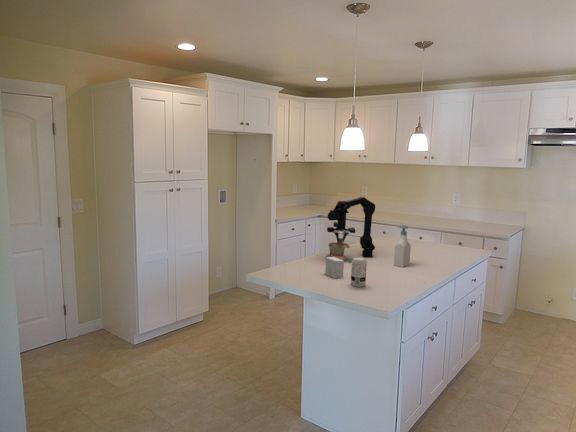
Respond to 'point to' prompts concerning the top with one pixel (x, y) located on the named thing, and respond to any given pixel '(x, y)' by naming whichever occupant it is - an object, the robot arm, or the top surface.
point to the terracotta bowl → (338, 256)
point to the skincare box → (334, 267)
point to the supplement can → (358, 272)
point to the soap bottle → (402, 249)
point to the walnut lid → (340, 244)
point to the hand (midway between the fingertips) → (340, 242)
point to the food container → (335, 249)
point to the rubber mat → (349, 260)
